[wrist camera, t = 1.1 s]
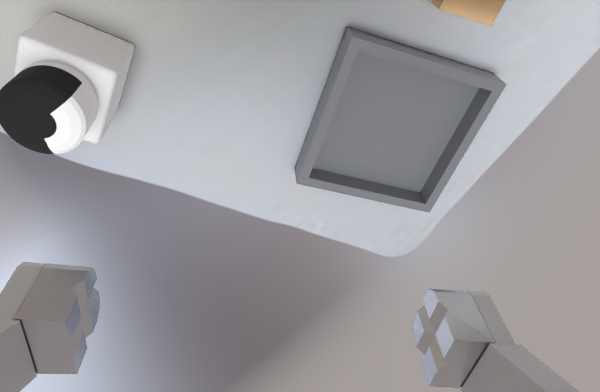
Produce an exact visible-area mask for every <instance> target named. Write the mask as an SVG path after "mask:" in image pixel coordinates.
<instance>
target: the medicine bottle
mask: <svg viewBox="0 0 600 392" xmlns="http://www.w3.org/2000/svg"><path fill="white" fill-rule="evenodd" d="M133 53H134V45H133V44H131V43H129V42H126V41H124V40H121V39H119V38H117V37H114V36H112V35H109V34H107V33H104V32H102V31H100V30H97V29H95V28H92V27H90V26H87V25H85V24H83V23H80V22H78V21H75V20H73V19H70V18H68V17H66V16H63V15H61V14H58V13H56V12H52V13H50V14H49V15H48V16H46V17H45V18H43V19H42V20H41V21H39V22H38V23H37V24H35V25H34V26H33V27H31V28H30V29H28V30H27V31H26V32H24V33H23V34H22V35H20V37H19V41H18V48H17V55H16V62H15V69H14V77H13V79H12V80H11V81H9V82H8V83H7V84H6V85H5V86H4V87H3V88H2V89H1V90H0V124H1V126H2V127H3V129H4V130H5V131H6V133H7V134H8V135H9V136H10V137H11V138H12V139H14V140H15V141H16V142H18V143H19V144H20V145H22V146H24V147H26V148H28V149H31V150H33V151H36V152H40V153H45V154H61V153H65V152H68V151H70V150H72V149H74V148H75V147H77V146H78V145H79V144H80V143H81V141H82V140H85V141H88V142H91V143H95V144H97V143H99V142H100V140H101V138H102V136H103V134H104V133H105V131H106V129H107V127H108V125H109V124H110V122H111V120H112V118H113V116H114V115H115V113H116V111H117V109H118V106H119V102H120V99H121V95H122V92H123V88H124V85H125V81H126V78H127V74H128V70H129V67H130V63H131V60H132V56H133Z"/></svg>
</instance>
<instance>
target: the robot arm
mask: <svg viewBox="0 0 600 392" xmlns="http://www.w3.org/2000/svg"><path fill="white" fill-rule="evenodd" d="M96 279H97V278H96V273H95V269H94V268H91V267H81V266H69V265H58V264H42V263H31V262H23V263H22V264H20V265H19V266H18V267H17V268H16V270H15V271H14V273H13V275H12V276H11V278H10V279H9V281H8V282H7V284H6V286H5V287H4V289H3V290H2V292H1V293H0V392H20V391H21V390H22V389H23V388H24V387H25V386H26V385H27V384H28V383H30V382H31V381H32V380H33V379H34V378H35V377H36V376H37V375H36V374H77V373H78V371H79V368H80V365H81V363H82V360H83V357H84V355H85V352H86V350H87V345H86V340H85V338H86V337H87V336H88V335H90V334H91V333H92V332H93V331H94V328H95V325H96V322H97V319H98V314H99V308H100V307H99V306H100V298H99V292H98V291H97V290H96V289H95V288H94V284H95V282H96ZM423 301H424V304H425V306H423V307H422V308H421V309H419V310H418V311H417V313H416V315H415V318H414V324H413V334H414V340H415V343H416V347H417V348H418V349H419V350H420V351H421V352H422V353H424V358H423V360H422V362H421V363H422V366H423V369H424V372H425V375H426V378H427V382H428V385H429V386H436V387H453V388H461V391H462V392H579V391H578V390H576V389H575V388H574V387H573V386H571V385H570V384H569V383H567V382H566V381H565V380H564V379H563V378H562V377H560V376H559V375H558V374H557V373H555V372H554V371H553V370H551V369H550V368H549V367H548V366H547V365H545V364H544V363H543V362H542V361H540V360H539V359H538V358H536V357H535V356H534V355H533V354H532V353H531V352H529V351H528V350H527V349H525V348H524V347H523V346H522V345H516V344H515V343H514V341H513V339H512V337H511V335H510V333H509V331H508V329H507V327H506V326H505V323H504V322H503V320H502V318H501V316H500V314H499V312H498V310H497V308H496V306H495V305H494V303H493V301H492V299H491V297H490V295H489V294H487V293H486V292H477V291H461V290H442V289H429V290H428V291H426V293H425V295H424V297H423Z"/></svg>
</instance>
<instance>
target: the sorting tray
mask: <svg viewBox="0 0 600 392" xmlns="http://www.w3.org/2000/svg"><path fill="white" fill-rule="evenodd" d="M505 86H506V84H505V83H504V82H503V81H502V80H501V79H499V78H498V77H497V76H496V75H495V74H494V73H492V72H489V71H485V70H482V69H479V68H476V67H473V66H470V65H466V64H463V63H460V62H457V61H454V60H451V59H448V58H444V57H441V56H438V55H435V54H432V53H429V52H425V51H422V50H419V49H416V48H413V47H410V46H407V45H403V44H400V43H397V42H394V41H391V40H388V39H384V38H381V37H378V36H375V35H372V34H369V33H366V32H362V31H359V30H356V29H353V28H350V27H346V30H345V32H344V35H343V38H342V40H341V43H340V46H339V49H338V51H337V54H336V57H335V60H334V62H333V65H332V68H331V70H330V73H329V76H328V79H327V81H326V84H325V87H324V90H323V92H322V95H321V98H320V100H319V103H318V106H317V109H316V111H315V114H314V117H313V120H312V122H311V125H310V128H309V130H308V133H307V136H306V139H305V141H304V144H303V147H302V150H301V152H300V155H299V158H298V160H297V163H296V166H295V174H296V182H297V184H301V185H306V186H310V187H315V188H320V189H324V190H329V191H333V192H338V193H342V194H347V195H352V196H356V197H361V198H365V199H370V200H375V201H379V202H384V203H388V204H393V205H397V206H402V207H407V208H411V209H416V210H420V211H425V212H430V211H431V209H432V207H433V206H434V204H435V202H436V201H437V199H438V197H439V196H440V194H441V192H442V191H443V189H444V187H445V186H446V184H447V182H448V181H449V179H450V177H451V176H452V174H453V172H454V171H455V169H456V167H457V166H458V164H459V162H460V161H461V159H462V157H463V156H464V154H465V152H466V151H467V149H468V147H469V146H470V144H471V142H472V141H473V139H474V137H475V136H476V134H477V132H478V131H479V129H480V127H481V126H482V124H483V122H484V121H485V119H486V118H487V116H488V114H489V113H490V111H491V109H492V108H493V106H494V104H495V103H496V101H497V99H498V98H499V96H500V94H501V93H502V91H503V89H504V88H505Z"/></svg>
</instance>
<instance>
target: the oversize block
mask: <svg viewBox="0 0 600 392" xmlns="http://www.w3.org/2000/svg"><path fill="white" fill-rule="evenodd" d="M428 1H430V2H431V3H432V4H434V5H435V6H436V7H437V8H439V9H441V10H444V11H447V12H450V13H453V14H456V15H458V16H461V17H464V18H467V19H470V20H473V21H476V22H479V23H482V24H484V25H487V26H490V27H491V26H492V24H493V23H494V21H495V19H496V17H497V15H498V13H499V12H500V10H501V8H502V6H503V4H504V2H505V0H428Z"/></svg>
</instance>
